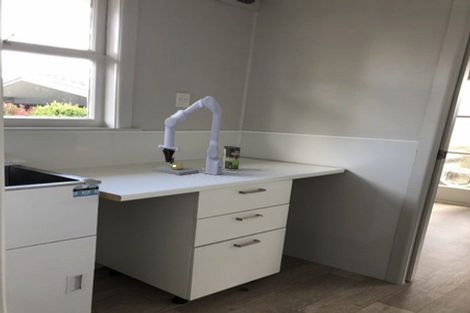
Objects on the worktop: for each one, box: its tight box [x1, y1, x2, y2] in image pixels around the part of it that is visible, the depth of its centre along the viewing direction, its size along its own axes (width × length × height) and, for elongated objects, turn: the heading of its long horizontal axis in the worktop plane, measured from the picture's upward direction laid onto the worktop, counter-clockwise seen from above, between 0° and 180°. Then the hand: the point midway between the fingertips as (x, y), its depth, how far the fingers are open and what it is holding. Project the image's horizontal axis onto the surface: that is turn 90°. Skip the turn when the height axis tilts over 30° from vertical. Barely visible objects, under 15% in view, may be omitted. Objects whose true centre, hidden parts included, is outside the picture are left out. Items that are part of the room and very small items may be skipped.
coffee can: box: [222, 145, 241, 172], centre depth 286 cm, size 10×10×14 cm
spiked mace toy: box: [169, 156, 184, 170], centre depth 263 cm, size 12×6×5 cm, turn 31°
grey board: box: [152, 165, 199, 176], centre depth 261 cm, size 19×18×2 cm
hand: (168, 162), depth 265 cm, fingers closed
